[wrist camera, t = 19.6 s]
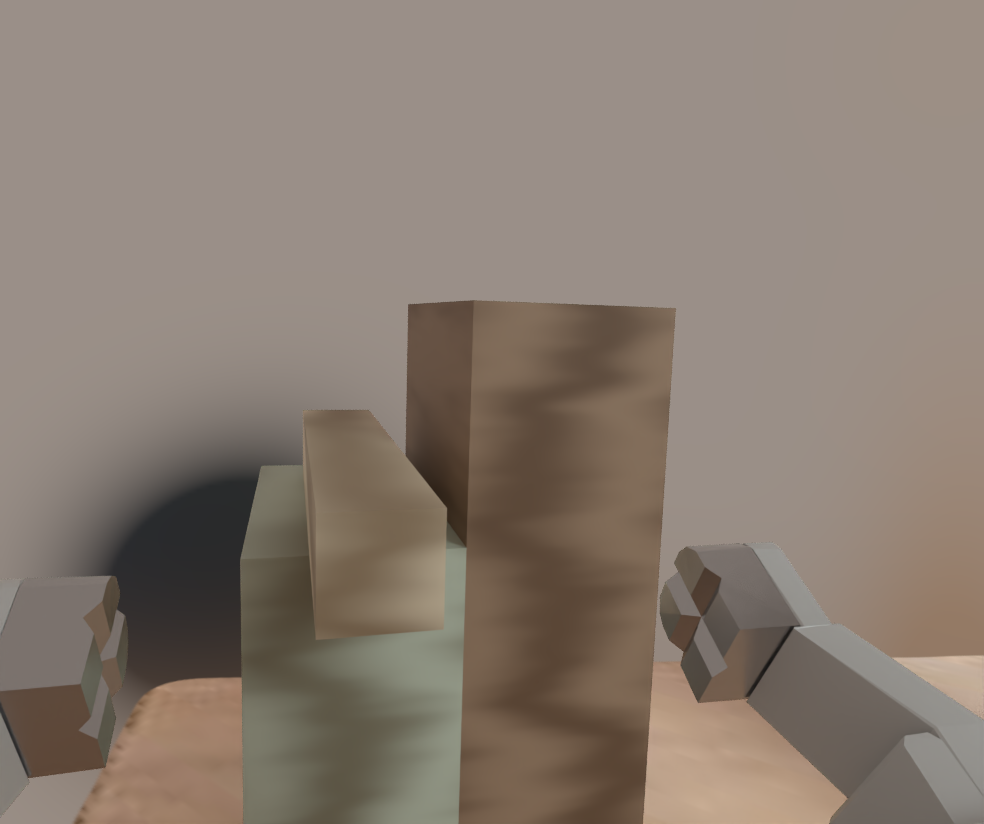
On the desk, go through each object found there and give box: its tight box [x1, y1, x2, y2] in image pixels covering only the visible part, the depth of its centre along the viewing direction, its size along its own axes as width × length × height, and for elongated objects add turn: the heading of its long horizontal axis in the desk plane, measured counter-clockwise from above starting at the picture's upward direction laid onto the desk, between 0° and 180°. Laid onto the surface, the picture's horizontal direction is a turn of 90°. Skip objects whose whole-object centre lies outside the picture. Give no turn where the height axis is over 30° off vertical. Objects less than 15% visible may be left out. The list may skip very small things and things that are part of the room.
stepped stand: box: [240, 300, 676, 824], centre depth 31 cm, size 14×14×26 cm
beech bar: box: [303, 410, 447, 640], centre depth 26 cm, size 3×18×3 cm, turn 15°
